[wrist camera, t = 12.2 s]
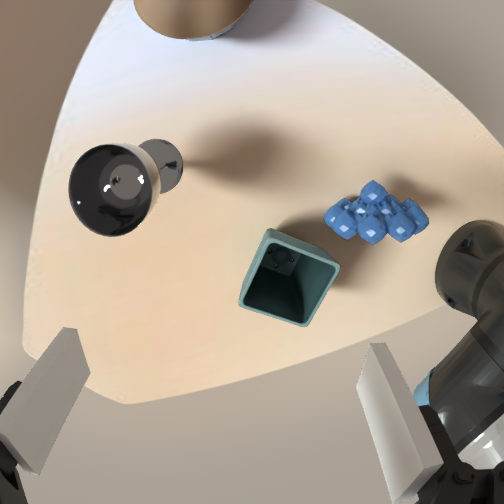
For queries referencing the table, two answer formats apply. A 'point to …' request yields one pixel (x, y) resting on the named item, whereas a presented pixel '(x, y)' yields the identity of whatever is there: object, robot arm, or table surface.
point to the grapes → (376, 216)
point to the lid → (191, 16)
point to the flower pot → (287, 279)
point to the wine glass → (122, 184)
